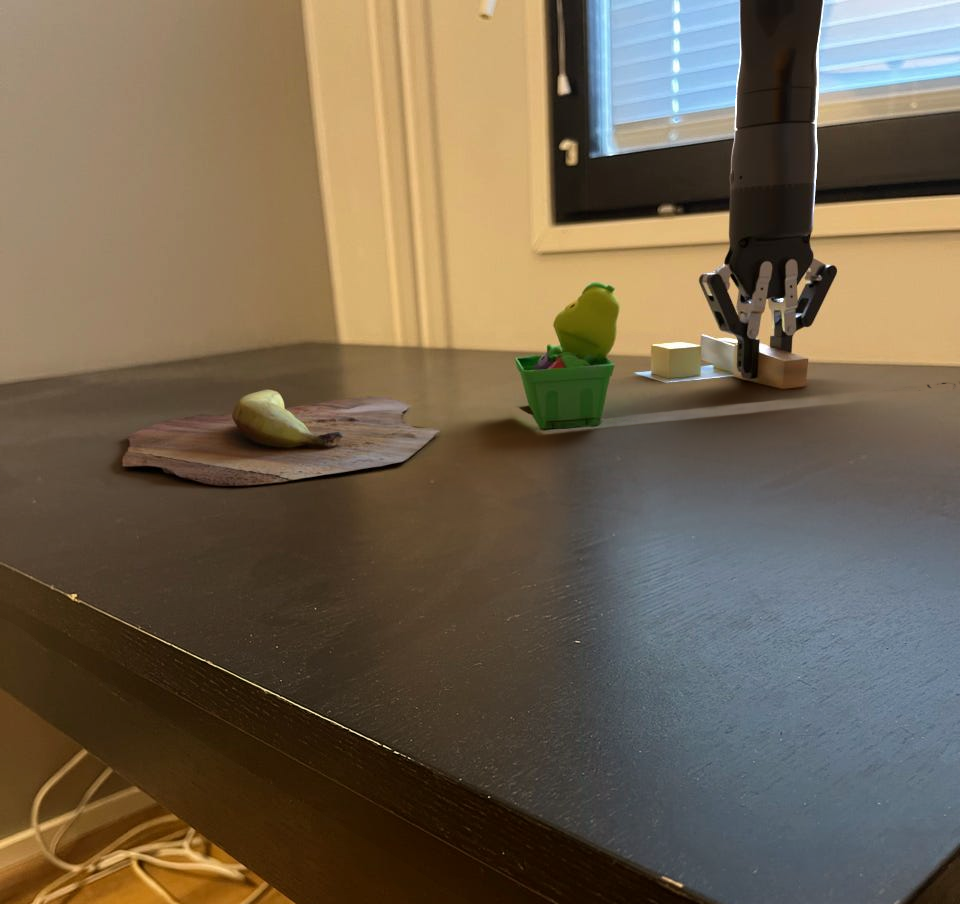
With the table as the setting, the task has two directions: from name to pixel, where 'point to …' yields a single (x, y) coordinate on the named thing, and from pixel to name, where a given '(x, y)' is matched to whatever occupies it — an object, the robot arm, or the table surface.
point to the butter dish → (705, 374)
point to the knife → (759, 363)
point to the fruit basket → (574, 362)
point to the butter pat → (728, 340)
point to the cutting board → (279, 440)
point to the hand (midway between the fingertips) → (763, 375)
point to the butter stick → (676, 360)
